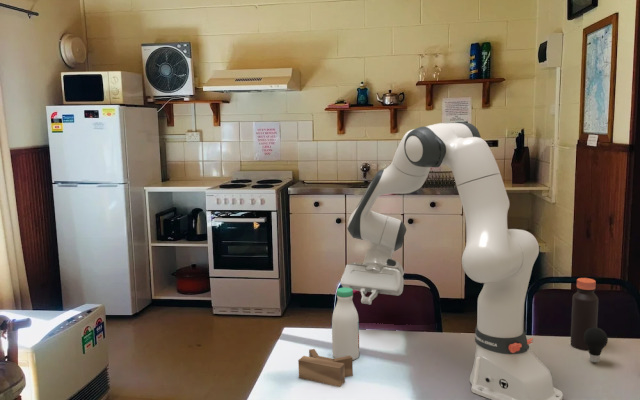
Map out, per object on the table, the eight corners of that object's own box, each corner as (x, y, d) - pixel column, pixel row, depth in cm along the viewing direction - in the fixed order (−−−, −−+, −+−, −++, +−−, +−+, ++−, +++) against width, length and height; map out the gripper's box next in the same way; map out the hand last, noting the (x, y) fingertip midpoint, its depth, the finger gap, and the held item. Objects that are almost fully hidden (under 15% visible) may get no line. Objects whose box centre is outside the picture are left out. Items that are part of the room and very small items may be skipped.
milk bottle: (357, 362, 152) (356, 294, 149) (330, 361, 154) (328, 293, 151) (360, 351, 160) (360, 285, 157) (335, 349, 161) (333, 284, 158)
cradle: (311, 365, 151) (310, 348, 151) (354, 373, 146) (353, 356, 145) (297, 377, 144) (296, 359, 144) (341, 387, 139) (341, 368, 138)
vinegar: (568, 347, 159) (571, 281, 156) (572, 339, 164) (574, 275, 161) (594, 352, 155) (598, 285, 152) (597, 344, 161) (600, 278, 158)
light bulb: (609, 362, 149) (611, 327, 147) (602, 369, 145) (604, 333, 143) (586, 356, 153) (588, 322, 151) (579, 363, 149) (581, 328, 147)
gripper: (344, 256, 179) (332, 294, 171) (404, 262, 169) (394, 302, 162) (350, 266, 183) (338, 303, 176) (408, 273, 174) (399, 312, 167)
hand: (365, 303), depth 169 cm, fingers closed
